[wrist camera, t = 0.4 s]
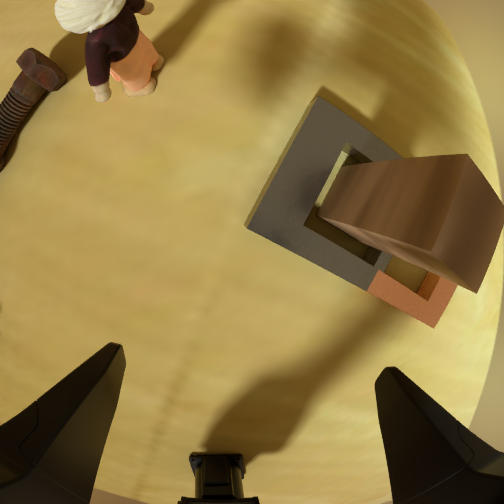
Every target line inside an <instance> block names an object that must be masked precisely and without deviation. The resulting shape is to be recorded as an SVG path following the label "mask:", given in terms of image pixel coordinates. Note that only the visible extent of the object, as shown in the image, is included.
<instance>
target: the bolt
mask: <svg viewBox="0 0 504 504" xmlns="http://www.w3.org/2000/svg"><path fill="white" fill-rule="evenodd" d="M16 62H17V64H18V65H19V66H20V68H21V69H22V72H21V73H20V74H19V76H18V77H17V78H16V80H15V81H14V83H13V85H12V88H10V91H9V92H8V94H7V95H6V97H5V98H4V99H3V101H2V102H1V104H0V171H1V169H2V167H3V166H4V164H5V157H4V154H3V153H4V151H5V149H6V147H7V145H8V144H9V142H10V140H11V139H12V137H13V135H14V133H15V132H16V130H17V129H18V127H19V126H20V124H21V123H22V121H23V120H24V118H25V117H26V115H27V114H28V111H30V109H31V108H32V107H33V105H34V104H35V103H36V102H37V101H38V100H39V99H40V97H41V96H42V95H43V93H44V92H45V91H46V90H48V91H50V92H52V91H58V90H59V88H60V87H61V86H62V85H63V84H64V83H65V81H66V80H67V77H66V74H65V73H64V72H63V71H62V70H61V69H60V68H59V67H58V66H57V65H56V64H55V63H54V62H53V61H51V60H50V59H49V58H48V57H47V56H45V55H44V54H42V53H41V52H39V51H38V50H36V49H34V48H29V49H27V50H25V51H24V52H23V53H22V54H21V56H20V57H19V58H18V59H17V61H16Z"/></svg>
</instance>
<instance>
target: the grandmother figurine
mask: <svg viewBox="0 0 504 504" xmlns="http://www.w3.org/2000/svg"><path fill="white" fill-rule="evenodd" d="M153 10H154V5H153V4H152V3H150V2H147V1H146V0H58V1H57V2H56V4H55V15H56V18H57V20H58V21H59V23H60V25H61V26H62V27H63V29H65V30H68V31H71V32H74V33H79V34H82V33H85V32H88V31H89V32H88V35H87V39H86V43H85V60H86V68H87V74H88V81H89V84H90V86H92V89H93V91H94V92H95V99H96V101H98V102H100V103H102V102H106V101H107V100H108V99H109V98H110V97H111V89H110V88H109V75H110V73H111V75H112V76H113V78H114V79H115V80H116V81H121V80H122V81H123V83H124V84H123V92H124V94H125V95H127V96H129V97H133V96H143V95H148V94H150V93H152V92H153V91H154V89H155V86H156V80H155V79H154V78H153V77H150V75H151V71H156V70H158V69H160V68H161V66H162V65H163V63H164V58H163V57H162V56H161V55H159V54H158V53H157V52H156V50H155V48H154V46H153V44H152V42H151V41H150V40H149V39H148V38H147V37H146V36H145V35H144V34H143V33H142V32H141V31H140V30H139V26H138V24H137V20H136V17H135V15H134V13H140V14H142V15H149V14H151V13H152V12H153Z"/></svg>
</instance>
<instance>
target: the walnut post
mask: <svg viewBox="0 0 504 504" xmlns="http://www.w3.org/2000/svg"><path fill="white" fill-rule="evenodd" d="M316 216H318V217H320V218H322V219H323V220H325V221H327V222H328V223H330V224H332V225H333V226H335V227H336V228H338V229H340V230H341V231H343V232H345V233H346V234H348V235H349V236H351V237H353V238H354V239H356V240H357V241H359V242H362V243H364V244H367V245H369V246H371V247H374V248H376V249H379V250H381V251H384V252H386V253H388V254H391V255H393V256H395V257H398V258H400V259H402V260H405V261H407V262H409V263H412V264H414V265H416V266H418V267H421V268H423V269H425V270H427V271H430V272H432V273H434V274H436V275H438V276H440V277H443V278H445V279H447V280H449V281H451V282H453V283H455V284H458V285H460V286H462V287H464V288H466V289H468V290H470V291H472V292H474V293H476V294H477V292H478V290H479V288H480V285H481V283H482V281H483V279H484V276H485V274H486V272H487V269H488V267H489V264H490V262H491V259H492V257H493V254H494V252H495V249H496V246H497V243H498V240H499V237H500V234H501V231H502V228H503V225H504V205H503V204H502V202H501V201H500V199H499V197H498V196H497V194H496V193H495V191H494V190H493V188H492V187H491V185H490V184H489V182H488V181H487V180H486V178H485V177H484V175H483V174H482V173H481V171H480V170H479V168H478V167H477V166H476V165H475V163H474V162H473V161H472V159H471V158H470V157H469V156H468V154H455V155H440V156H427V157H416V158H405V159H396V160H387V161H379V162H371V163H363V164H356V165H349V166H342V167H341V168H340V170H339V172H338V174H337V176H336V178H335V180H334V182H333V184H332V186H331V188H330V190H329V192H328V194H327V195H326V197H325V199H324V201H323V203H322V205H321V207H320V209H319V211H318V213H317V215H316Z"/></svg>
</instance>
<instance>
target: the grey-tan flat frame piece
mask: <svg viewBox="0 0 504 504" xmlns="http://www.w3.org/2000/svg"><path fill="white" fill-rule="evenodd" d="M342 150H343V151H344V152H345V153H347V154H348V155H350V156H351V157H353V158H354V159H355V160H357V161H358V162H360V163H361V164H363V163H371V162H379V161H387V160H396V159H403V158H402V157H401V156H400V155H398V154H397V153H396V152H395V151H394V150H393V149H391V148H390V147H389V146H388V145H386V144H385V143H384V142H383V141H382V140H380V139H379V138H378V137H376V136H375V135H374V134H373V133H371V132H370V131H369V130H367V129H366V128H365V127H363V126H362V125H361V124H359V123H358V122H356V121H355V120H354V119H352V118H351V117H349V116H348V115H347V114H345V113H344V112H342V111H341V110H339V109H338V108H336V107H335V106H333V105H332V104H330V103H329V102H327V101H326V100H324V99H322V98H321V97H319V96H318V97H317V98H315V99H314V100H313V101H312V102H311V103H310V104H309V106H308V107H307V109H306V111H305V113H304V115H303V116H302V118H301V120H300V122H299V124H298V125H297V127H296V129H295V131H294V133H293V134H292V136H291V138H290V140H289V142H288V143H287V145H286V147H285V149H284V151H283V153H282V154H281V156H280V158H279V160H278V162H277V164H276V165H275V167H274V169H273V171H272V173H271V175H270V177H269V178H268V180H267V182H266V184H265V186H264V188H263V190H262V191H261V193H260V195H259V197H258V199H257V201H256V203H255V205H254V206H253V208H252V210H251V212H250V214H249V216H248V218H247V220H246V222H245V224H244V225H245V227H246V228H247V229H249V230H251V231H253V232H255V233H257V234H259V235H261V236H263V237H265V238H267V239H269V240H271V241H272V242H274V243H276V244H278V245H280V246H282V247H284V248H286V249H288V250H290V251H292V252H294V253H296V254H297V255H299V256H301V257H303V258H305V259H307V260H309V261H311V262H313V263H315V264H316V265H318V266H320V267H322V268H324V269H326V270H328V271H330V272H332V273H333V274H335V275H337V276H339V277H341V278H343V279H345V280H347V281H348V282H350V283H352V284H354V285H356V286H358V287H360V288H361V289H363V290H365V291H367V292H369V293H371V294H372V295H374V296H376V297H378V298H380V299H382V300H383V301H385V302H387V303H389V304H391V305H393V306H394V307H396V308H398V309H400V310H402V311H403V312H405V313H407V314H409V315H411V316H412V317H414V318H416V319H418V320H420V321H421V322H423V323H425V324H427V325H429V326H430V327H432V328H435V326H436V324H437V323H438V321H439V319H440V317H441V316H442V314H443V312H444V310H445V308H446V307H447V305H448V303H449V301H450V299H451V297H452V295H453V293H454V291H455V289H456V287H457V285H458V284H455V283H453V282H451V281H449V280H447V279H445V278H443V277H440V276H438V275H436V274H434V273H432V272H430V271H428V273H427V275H426V277H425V279H424V281H423V283H422V285H421V286H420V288H419V290H418V292H417V294H416V293H414V292H413V291H411V290H410V289H408V288H407V287H405V286H404V285H402V284H400V283H399V282H397V281H396V280H394V279H393V278H391V277H389V276H388V275H386V274H385V273H384V271H385V269H386V267H387V265H388V263H389V261H390V259H391V258H392V256H393V255H391V254H388V253H386V252H384V251H381V250H379V249H376V248H374V247H371V246H370V247H369V249H368V251H367V253H366V254H365V256H364V258H363V260H362V259H360V258H359V257H357V256H355V255H354V254H352V253H350V252H348V251H347V250H345V249H343V248H342V247H340V246H338V245H337V244H335V243H333V242H332V241H330V240H328V239H326V238H325V237H323V236H321V235H319V234H318V233H316V232H314V231H312V230H311V229H309V228H307V227H305V226H304V225H303V224H304V222H305V221H306V219H307V217H308V215H309V213H310V211H311V209H312V207H313V205H314V204H315V202H316V200H317V198H318V196H319V194H320V192H321V190H322V188H323V186H324V184H325V182H326V181H327V179H328V177H329V175H330V173H331V171H332V169H333V167H334V165H335V163H336V161H337V159H338V157H339V155H340V153H341V151H342Z"/></svg>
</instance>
